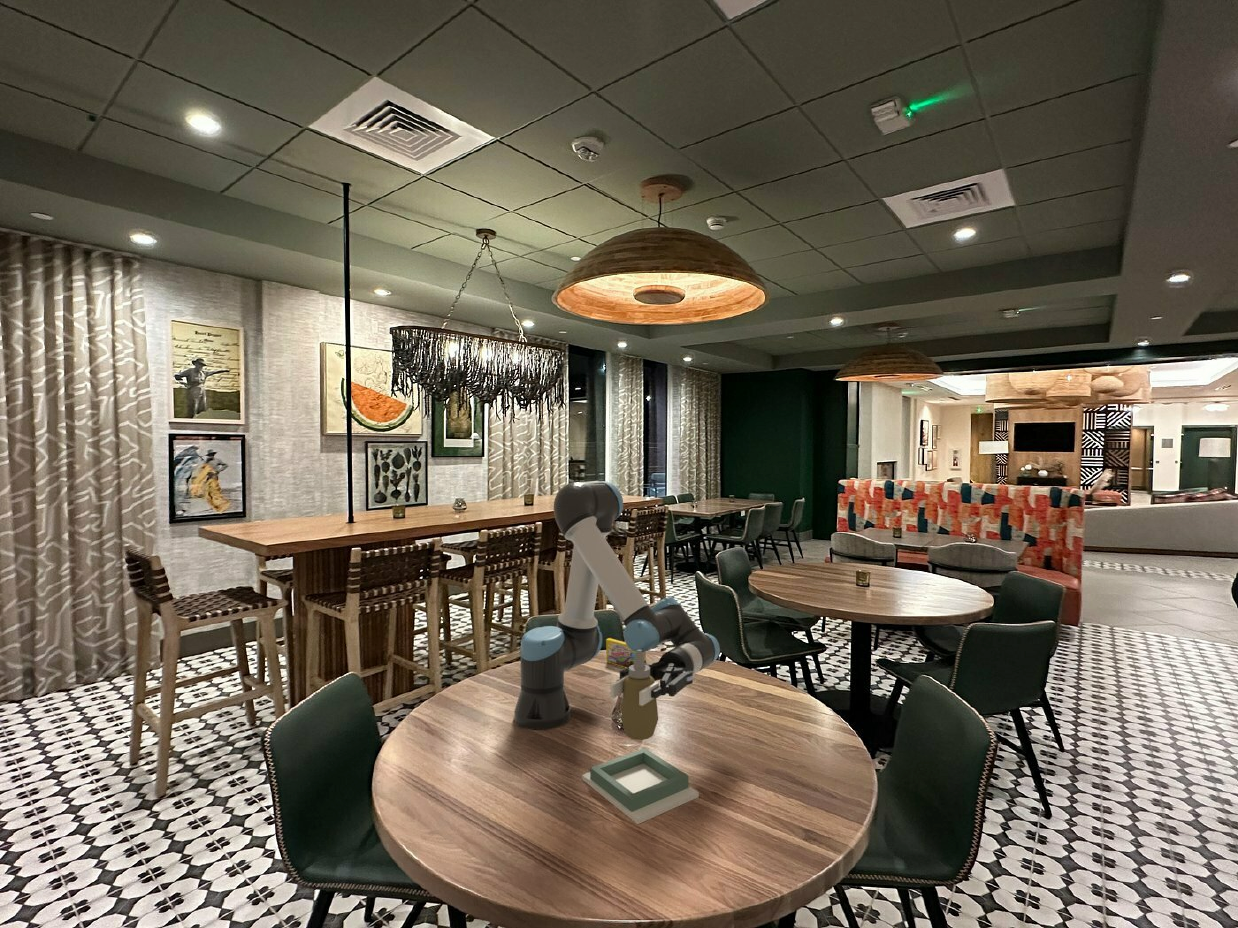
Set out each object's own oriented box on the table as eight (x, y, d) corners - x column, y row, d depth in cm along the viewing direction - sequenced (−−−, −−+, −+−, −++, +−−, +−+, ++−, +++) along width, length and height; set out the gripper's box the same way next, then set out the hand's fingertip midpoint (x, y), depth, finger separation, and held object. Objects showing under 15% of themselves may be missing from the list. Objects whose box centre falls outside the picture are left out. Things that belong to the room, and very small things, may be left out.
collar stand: (582, 779, 132) (582, 763, 132) (639, 758, 141) (639, 743, 141) (637, 824, 116) (637, 806, 116) (698, 796, 125) (698, 780, 125)
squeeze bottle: (655, 744, 124) (655, 657, 124) (617, 741, 125) (616, 655, 125) (660, 727, 132) (660, 645, 132) (624, 724, 133) (624, 643, 133)
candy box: (605, 662, 208) (605, 638, 208) (609, 661, 209) (609, 637, 209) (642, 673, 197) (642, 648, 197) (646, 671, 199) (646, 646, 199)
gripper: (717, 687, 138) (667, 724, 119) (645, 671, 149) (588, 702, 130) (717, 655, 138) (666, 686, 119) (645, 641, 149) (588, 667, 130)
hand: (626, 694), depth 124 cm, fingers closed on squeeze bottle, 6 cm apart
